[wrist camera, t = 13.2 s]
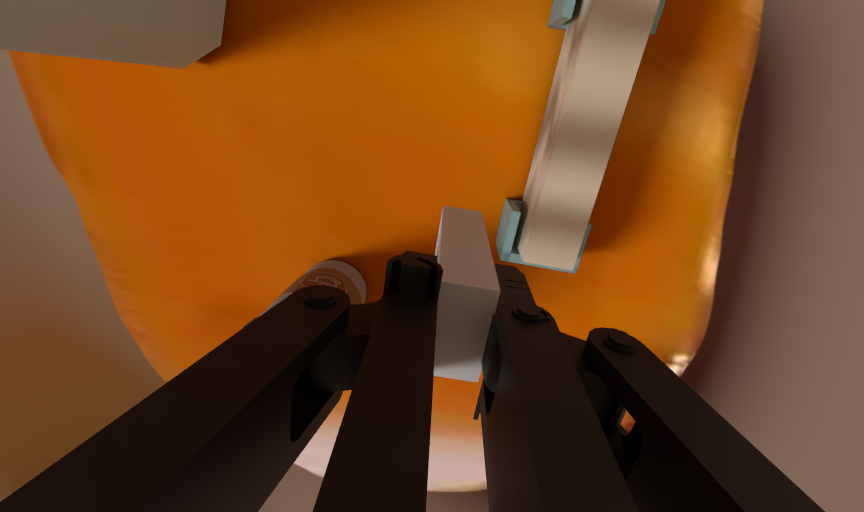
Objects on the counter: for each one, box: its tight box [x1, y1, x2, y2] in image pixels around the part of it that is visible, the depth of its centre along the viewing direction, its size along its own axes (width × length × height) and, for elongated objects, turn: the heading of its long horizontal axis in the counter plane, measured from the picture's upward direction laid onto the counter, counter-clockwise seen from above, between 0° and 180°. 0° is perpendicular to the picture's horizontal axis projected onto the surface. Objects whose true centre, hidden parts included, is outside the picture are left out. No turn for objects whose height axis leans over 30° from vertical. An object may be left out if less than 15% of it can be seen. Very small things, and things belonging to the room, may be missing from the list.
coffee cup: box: [243, 260, 367, 328], centre depth 35 cm, size 8×8×15 cm
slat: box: [514, 0, 660, 270], centre depth 31 cm, size 20×4×6 cm, turn 171°
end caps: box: [495, 0, 666, 274], centre depth 33 cm, size 23×7×4 cm, turn 170°
